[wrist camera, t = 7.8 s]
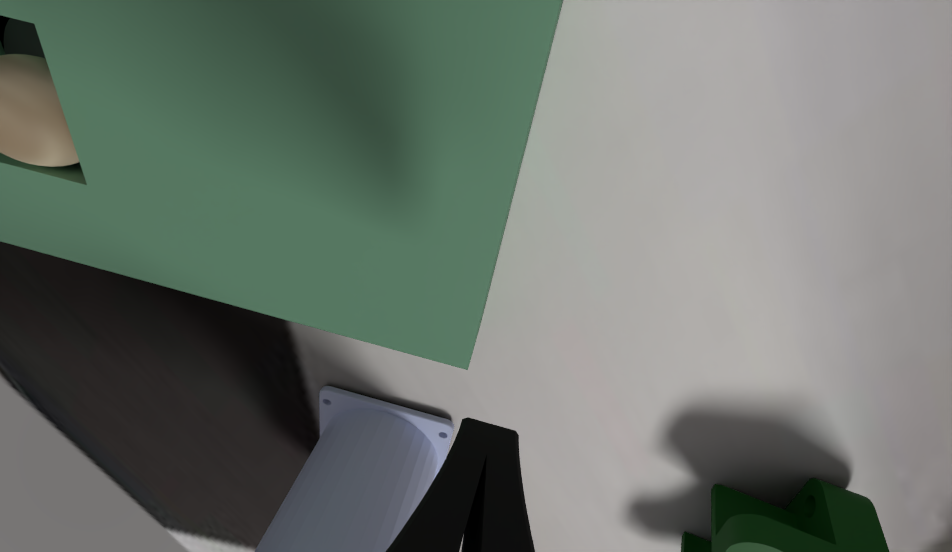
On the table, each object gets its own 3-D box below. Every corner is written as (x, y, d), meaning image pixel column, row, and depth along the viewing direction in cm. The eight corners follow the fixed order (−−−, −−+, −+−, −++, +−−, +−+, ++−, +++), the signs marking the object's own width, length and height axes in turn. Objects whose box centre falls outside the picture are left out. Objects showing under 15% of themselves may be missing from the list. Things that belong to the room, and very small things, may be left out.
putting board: (567, -16, 13) (566, -20, 11) (479, 326, 21) (467, 369, 19) (-135, -176, 15) (-280, -212, 12) (25, 203, 22) (-44, 228, 20)
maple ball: (143, 152, 20) (66, 200, 17) (55, 119, 19) (-39, 163, 17) (118, 62, 17) (20, 103, 14) (15, 24, 17) (-107, 56, 14)
